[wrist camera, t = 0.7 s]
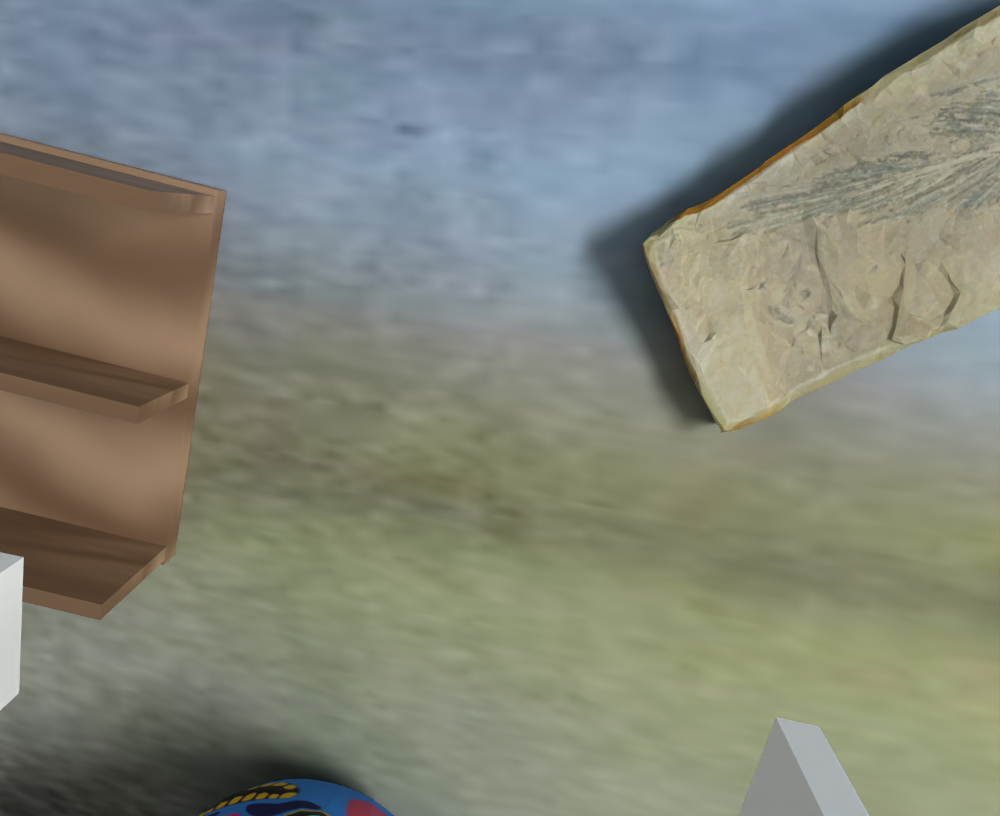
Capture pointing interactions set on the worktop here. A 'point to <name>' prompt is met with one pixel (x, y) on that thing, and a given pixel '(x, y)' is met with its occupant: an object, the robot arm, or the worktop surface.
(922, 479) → the worktop surface
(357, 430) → the worktop surface
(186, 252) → the rack
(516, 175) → the worktop surface
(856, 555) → the worktop surface
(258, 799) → the ceramic pot
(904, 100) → the stone slab
